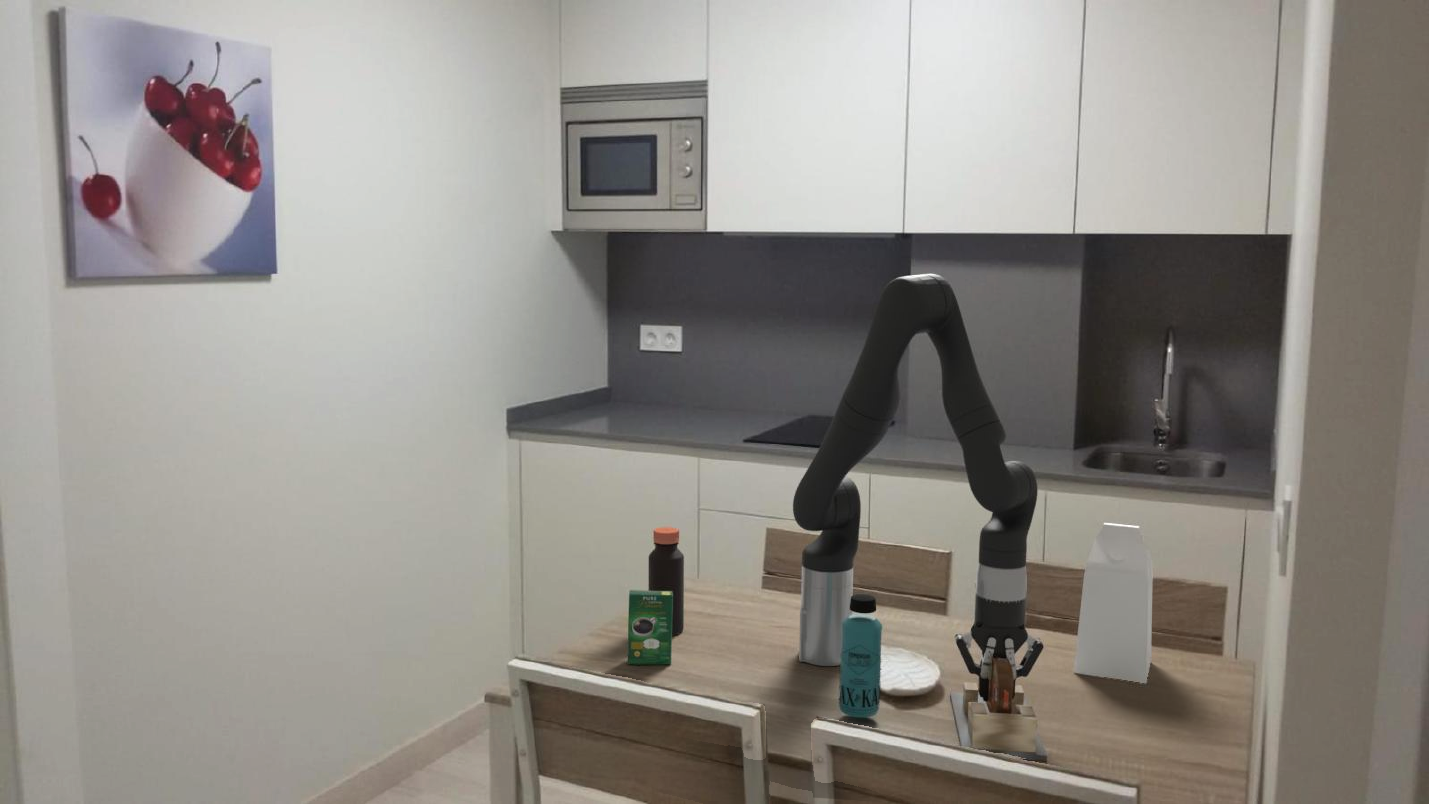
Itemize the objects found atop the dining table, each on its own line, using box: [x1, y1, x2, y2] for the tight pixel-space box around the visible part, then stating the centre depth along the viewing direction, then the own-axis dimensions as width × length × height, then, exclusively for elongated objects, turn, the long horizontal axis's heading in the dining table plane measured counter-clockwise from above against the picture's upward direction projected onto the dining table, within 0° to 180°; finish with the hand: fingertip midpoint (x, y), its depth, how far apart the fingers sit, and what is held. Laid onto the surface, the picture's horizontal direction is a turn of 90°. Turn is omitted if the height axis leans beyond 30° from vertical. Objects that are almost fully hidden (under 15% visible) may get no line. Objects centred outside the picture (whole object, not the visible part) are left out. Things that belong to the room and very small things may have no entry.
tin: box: [985, 656, 1014, 714], centre depth 172 cm, size 15×3×8 cm, turn 174°
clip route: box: [949, 681, 1048, 762], centre depth 173 cm, size 12×22×6 cm, turn 173°
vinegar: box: [648, 526, 685, 637], centre depth 215 cm, size 7×7×20 cm
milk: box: [1073, 522, 1154, 685], centre depth 197 cm, size 12×12×26 cm
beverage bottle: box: [837, 593, 883, 718], centre depth 175 cm, size 6×7×20 cm
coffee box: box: [627, 589, 673, 666], centre depth 198 cm, size 8×3×13 cm, turn 92°
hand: (996, 699), depth 173 cm, fingers closed on tin, 2 cm apart
